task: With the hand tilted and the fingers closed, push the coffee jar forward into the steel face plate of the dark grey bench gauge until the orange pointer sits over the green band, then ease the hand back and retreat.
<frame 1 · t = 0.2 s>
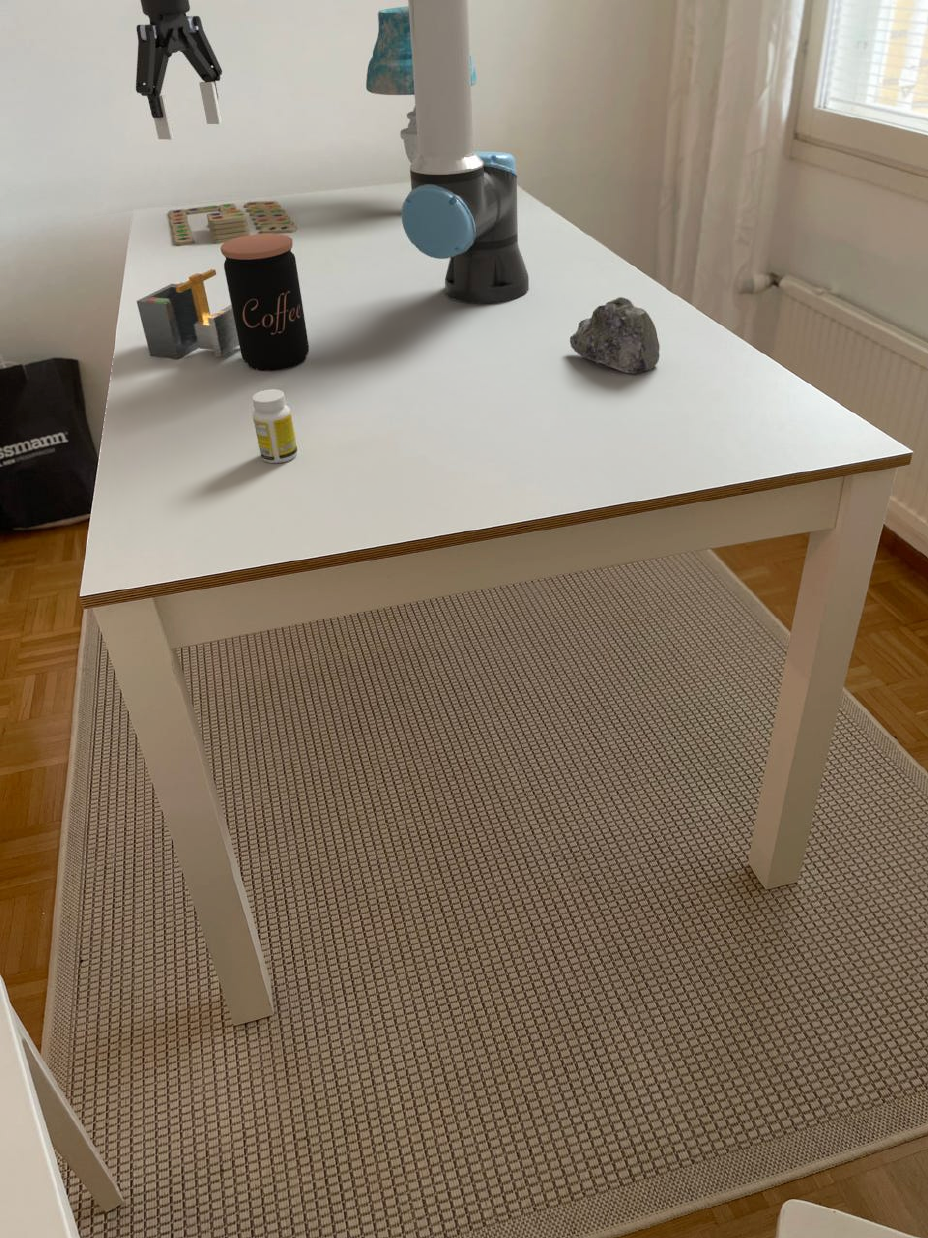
hand: (191, 131, 169), 28 cm above the table, tool pointing down, fingers open, 13 cm apart
mineral rock: (614, 362, 148), on the table
coffee jar: (277, 360, 156), on the table
plunger: (196, 349, 162), slide at 0.0 cm
gauge housing: (196, 349, 162), on the table
pile of dominoes: (231, 225, 229), on the table
supplement bottle: (279, 457, 128), on the table
table lamp: (431, 212, 226), on the table
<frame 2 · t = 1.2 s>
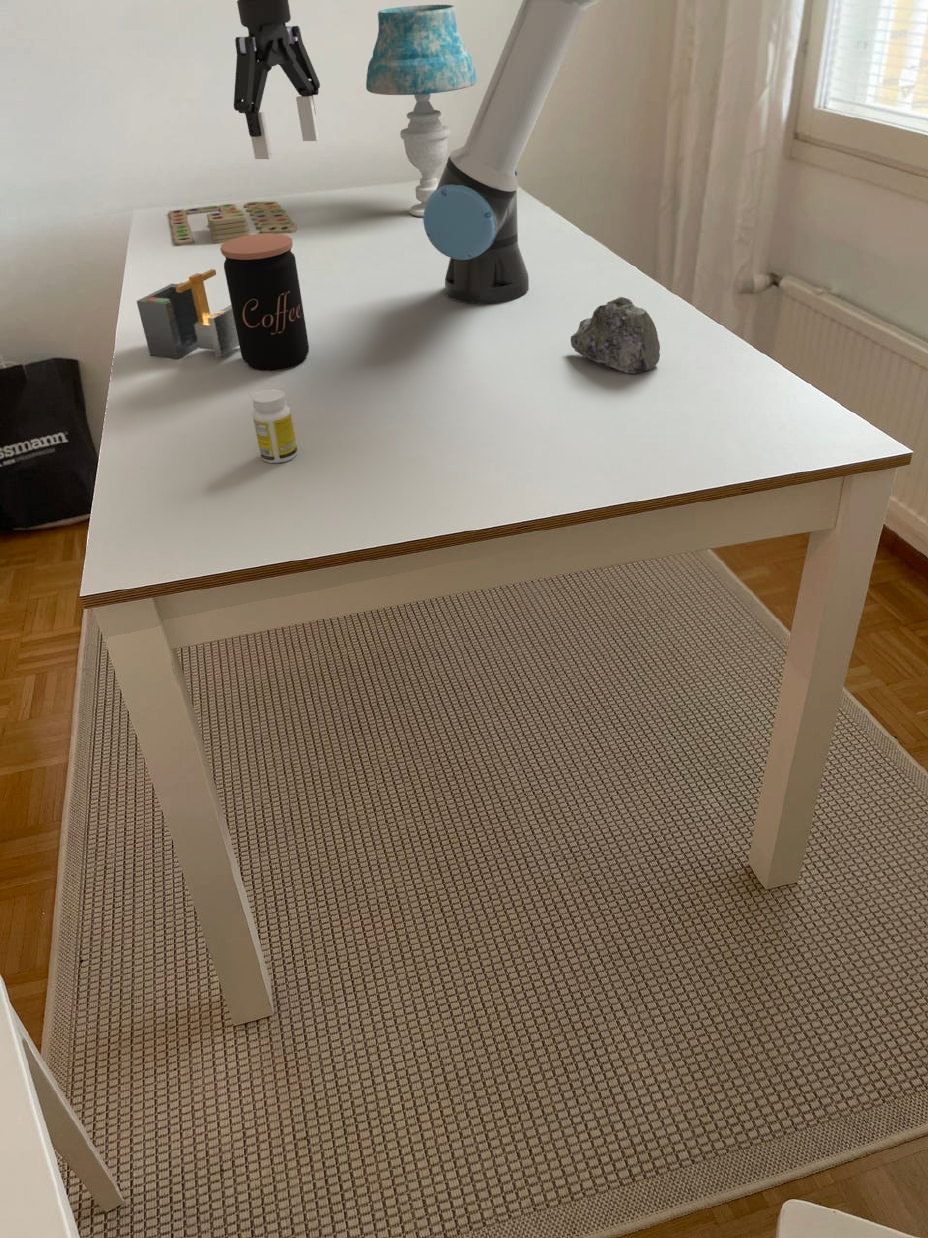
hand: (288, 149, 158), 26 cm above the table, tool pointing down, fingers open, 13 cm apart
nothing on the table moved.
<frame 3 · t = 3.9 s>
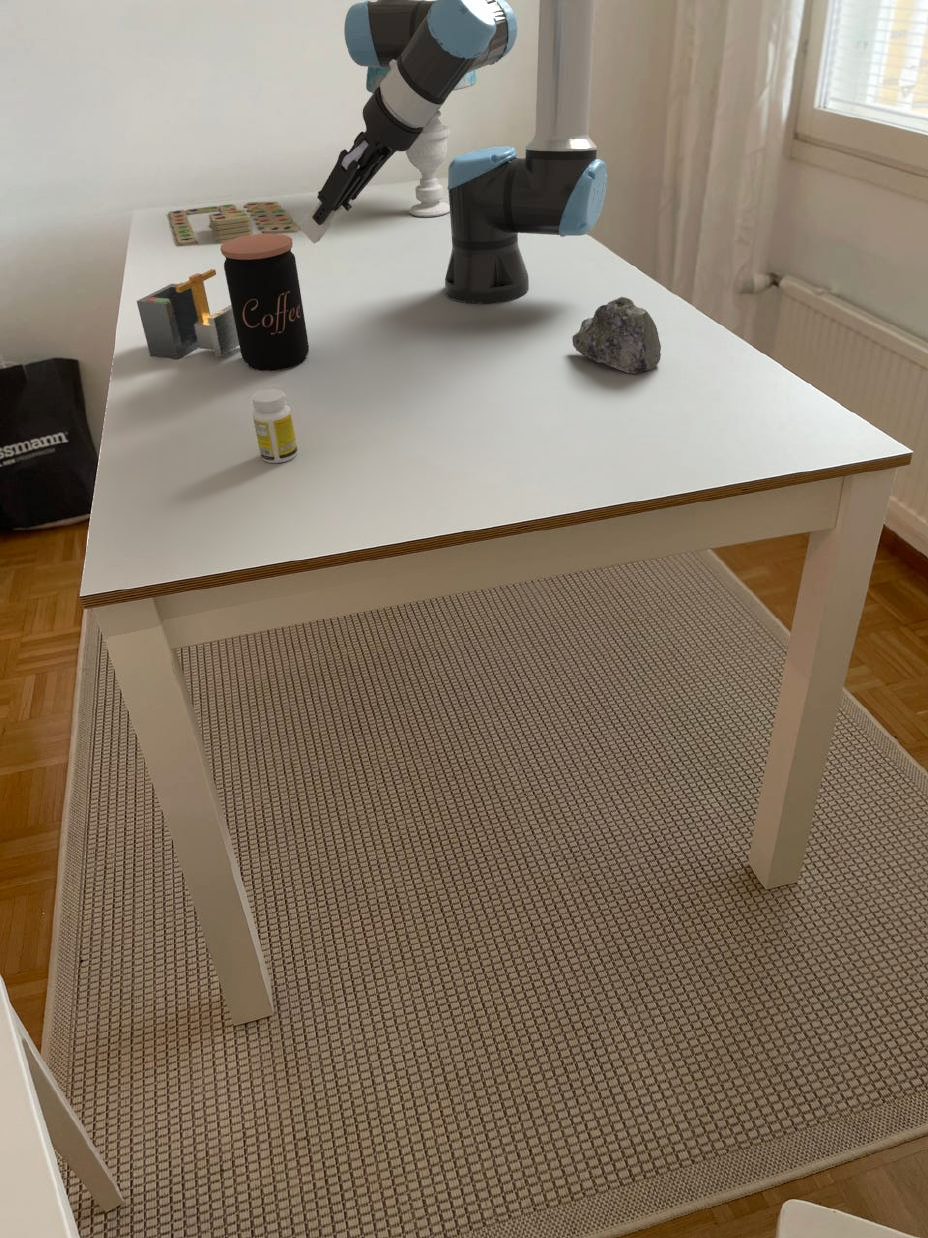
hand: (309, 234, 141), 20 cm above the table, tool tilted 45°, fingers closed
nothing on the table moved.
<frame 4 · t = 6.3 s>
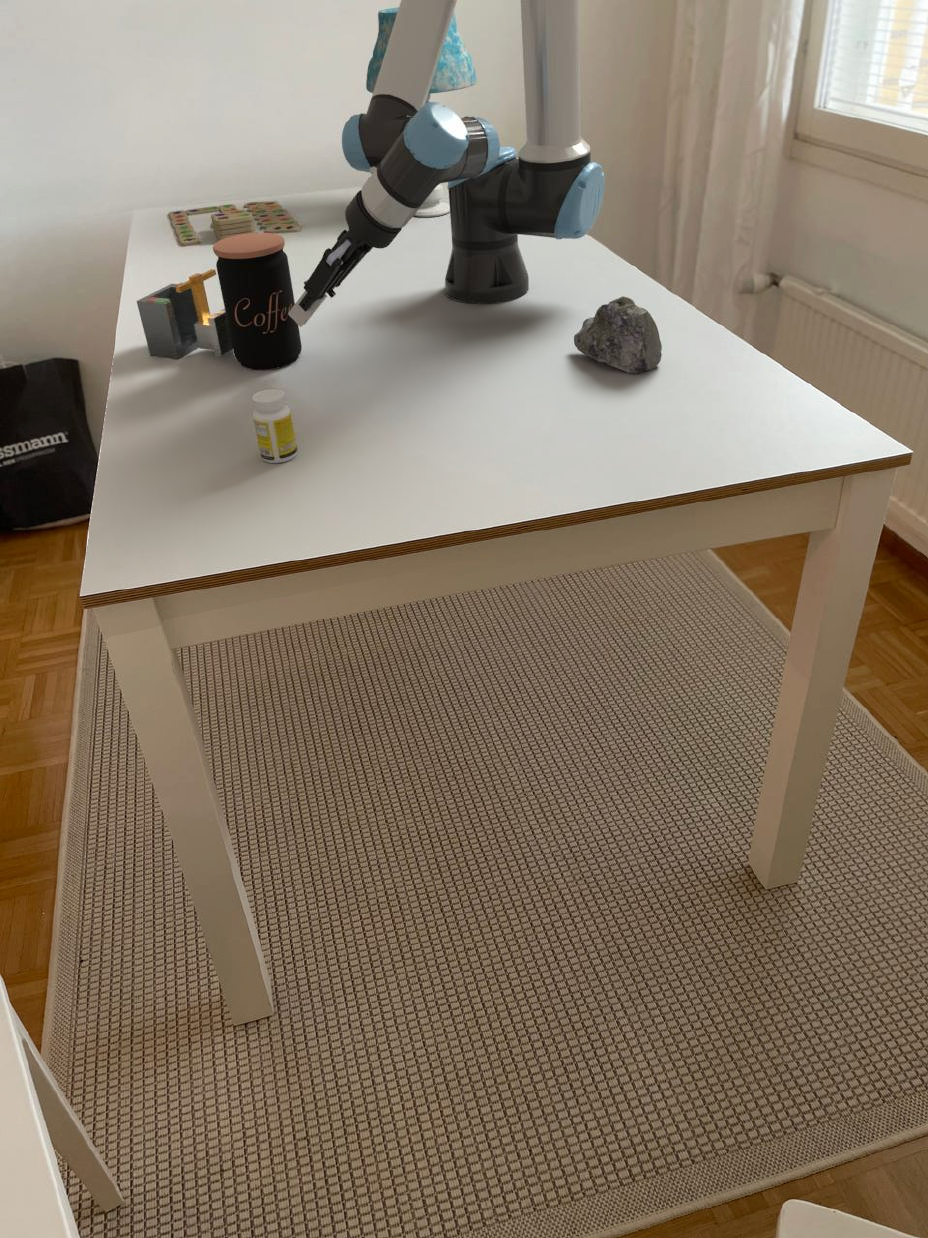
hand: (296, 318, 150), 7 cm above the table, tool tilted 45°, fingers closed
coffee jar: (269, 359, 156), on the table, touching gripper
everything else where it was.
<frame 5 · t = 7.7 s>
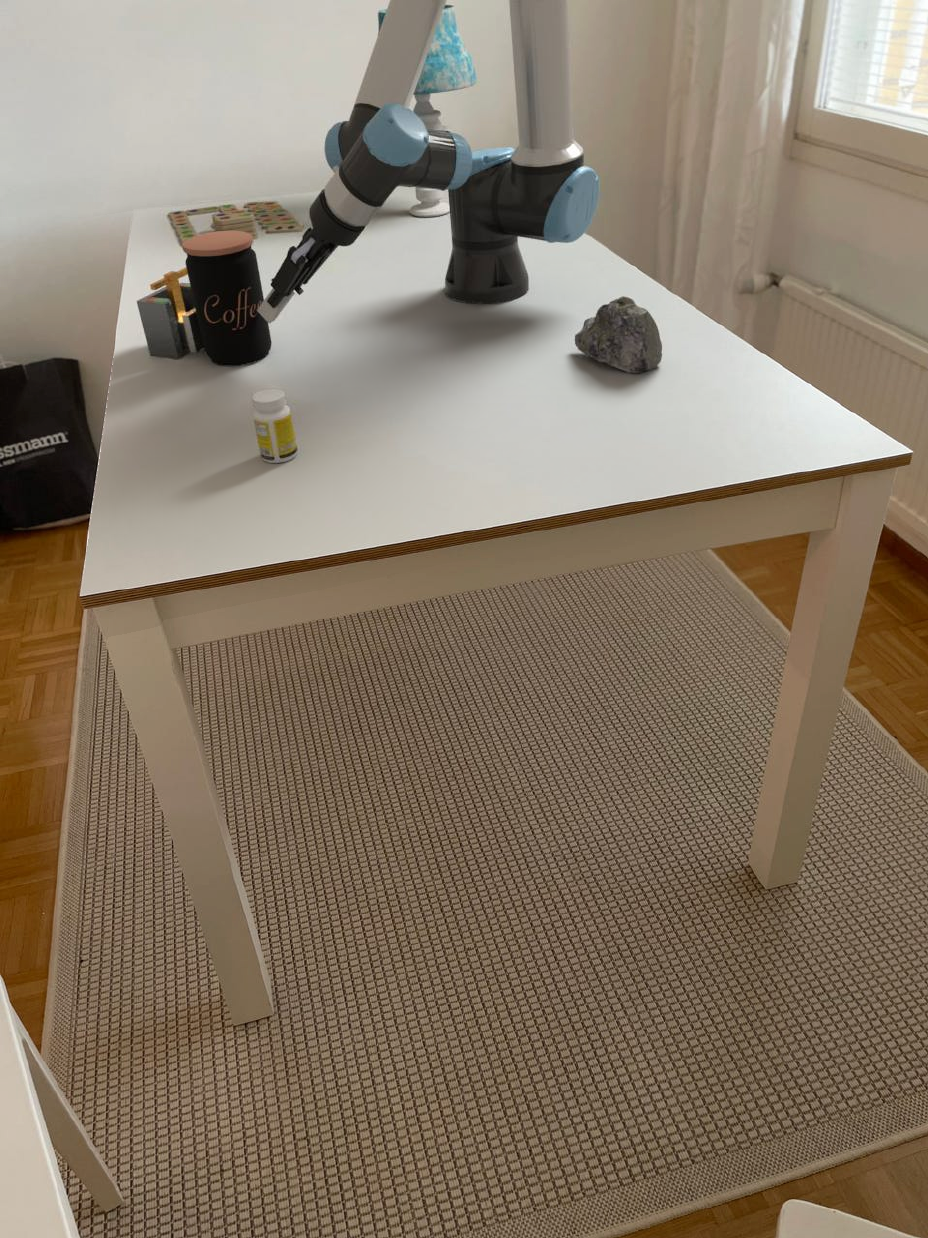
hand: (265, 315, 152), 7 cm above the table, tool tilted 45°, fingers closed
coffee jar: (240, 356, 159), on the table, touching gripper, plunger
plunger: (172, 346, 163), resting on gauge housing, slide at 4.9 cm, touching coffee jar
everything else where it was.
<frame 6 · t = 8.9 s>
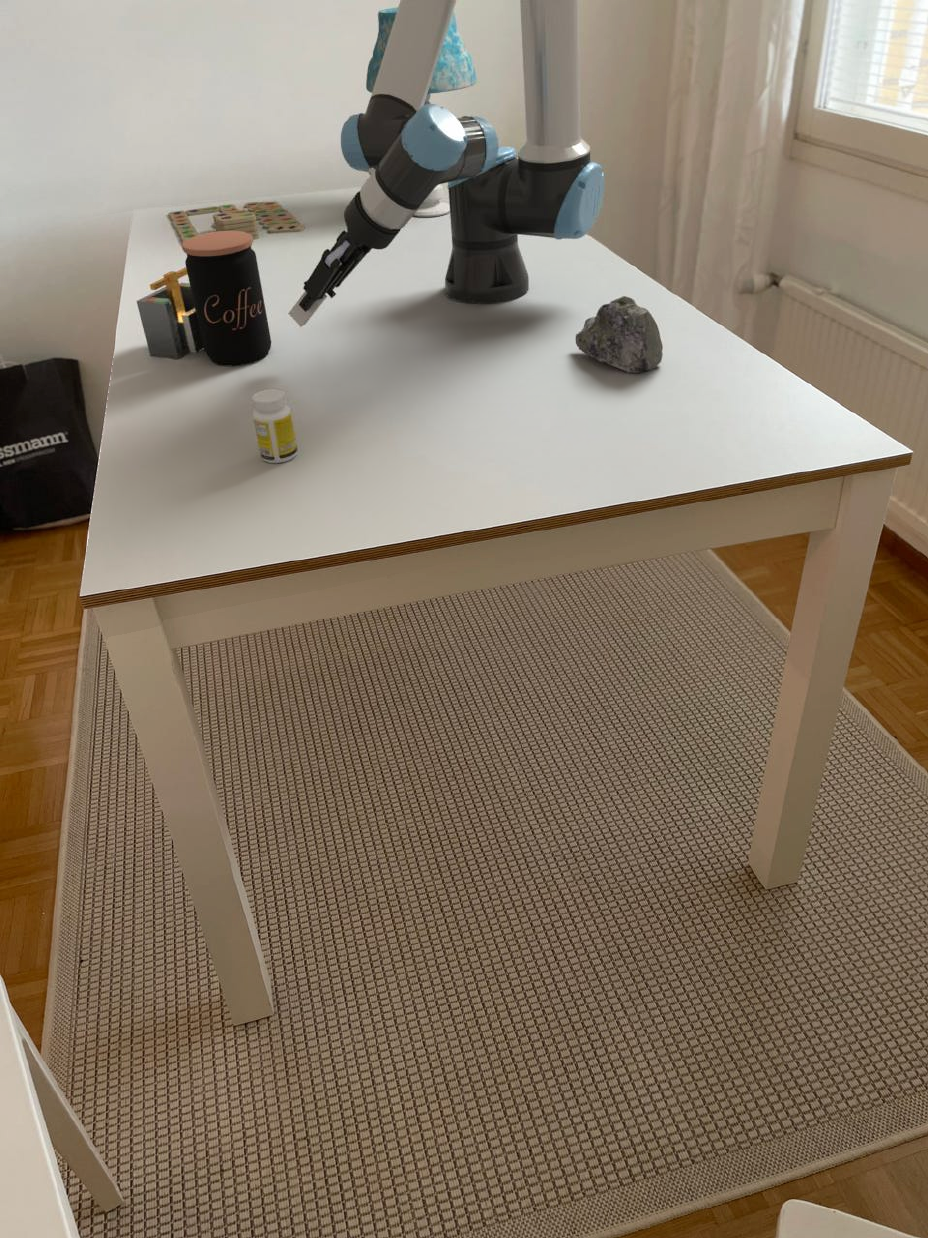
hand: (297, 318, 150), 7 cm above the table, tool tilted 45°, fingers closed
coffee jar: (240, 356, 159), on the table
plunger: (172, 346, 163), resting on gauge housing, slide at 5.0 cm
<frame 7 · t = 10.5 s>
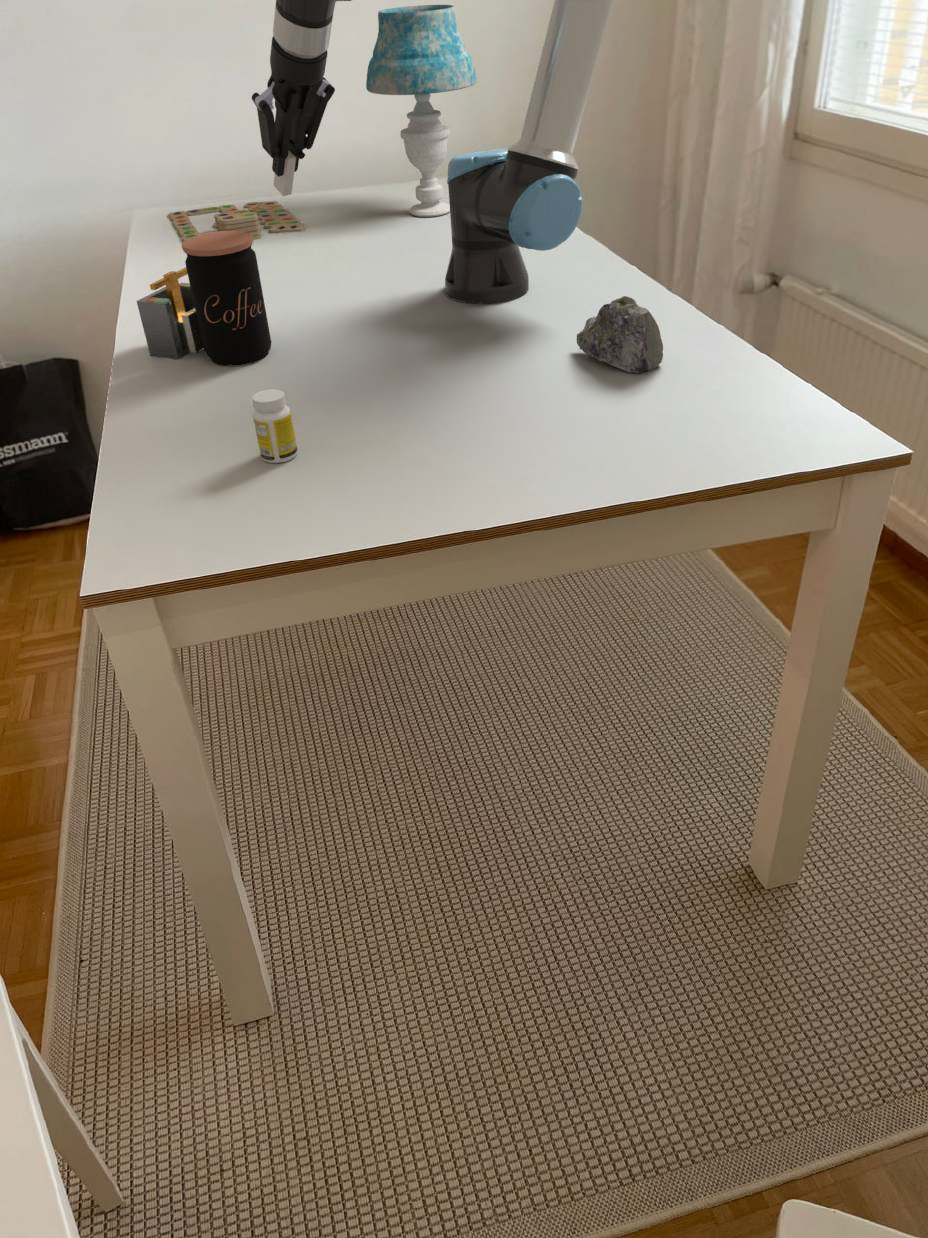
hand: (282, 189, 152), 23 cm above the table, tool tilted 30°, fingers closed
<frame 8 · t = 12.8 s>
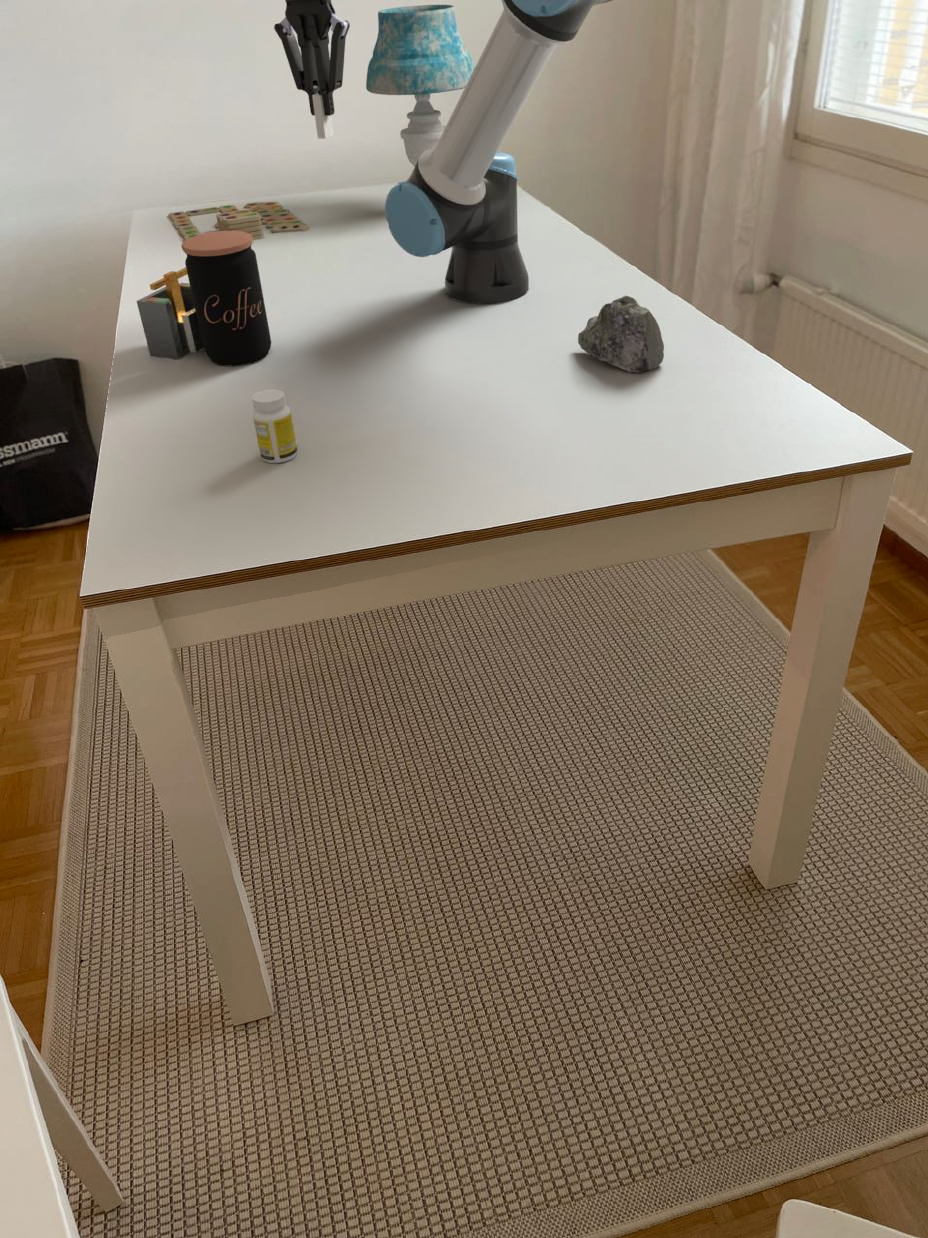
hand: (325, 136, 166), 26 cm above the table, tool pointing down, fingers closed
at the end: plunger slide at 5.0 cm; coffee jar tilted 0°; coffee jar moved 7.1 cm from its start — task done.
